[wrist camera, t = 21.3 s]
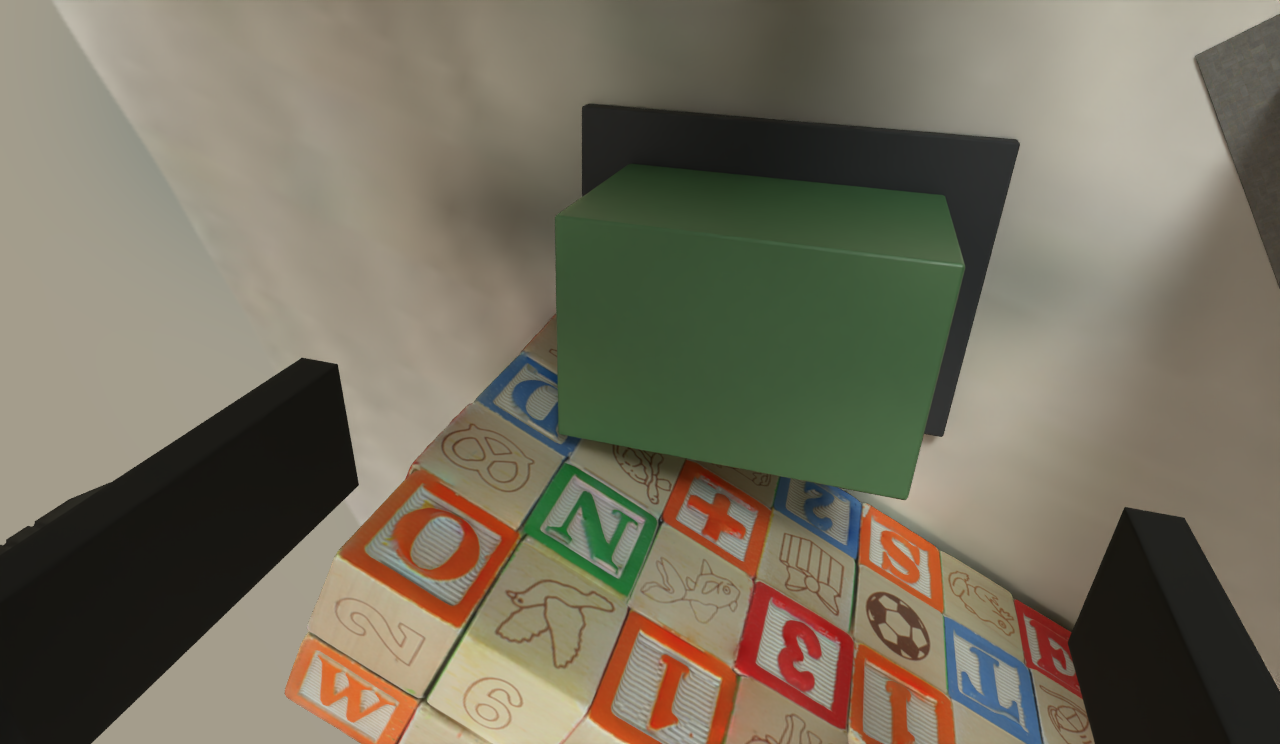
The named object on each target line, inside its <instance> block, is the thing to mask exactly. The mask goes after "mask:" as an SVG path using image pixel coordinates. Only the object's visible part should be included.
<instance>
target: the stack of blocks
mask: <svg viewBox="0 0 1280 744" xmlns="http://www.w3.org/2000/svg"><path fill="white" fill-rule="evenodd" d="M307 630H308V631H309V632H308V633H307V634H306V636H305V638H304V640H303V641H302V643H301V646H300V649H299V652H298V654H297V657H296V660H295V662H294V665H293V668H292V671H291V674H290V676H289V679H288V682H287V685H286V688H285V695H286V697H287V698H288V699H290V700H291V701H293V702H295V703H296V704H298V705H299V706H301V707H303V708H304V709H306V710H308V711H309V712H311V713H313V714H314V715H316V716H318V717H319V718H321V719H322V720H324V721H326V722H327V723H329V724H331V725H332V726H334V727H336V728H337V729H339V730H340V731H342V732H344V733H345V734H347V735H348V736H349V737H351V738H352V739H354V740H356V741H358V742H359V743H361V744H1095V742H1094V739H1093V735H1092V731H1091V728H1090V724H1089V720H1088V716H1087V713H1086V709H1085V705H1084V702H1083V698H1082V694H1081V691H1080V687H1079V683H1078V680H1077V676H1076V672H1075V669H1074V665H1073V661H1072V657H1071V654H1070V650H1069V646H1068V640H1069V638H1070V635H1071V633H1072V632H1070V631H1068V630H1067V629H1065V628H1064V627H1062V626H1060V625H1058V624H1057V623H1055V622H1053V621H1052V620H1050V619H1048V618H1047V617H1045V616H1043V615H1042V614H1040V613H1038V612H1037V611H1035V610H1034V609H1032V608H1030V607H1028V606H1026V605H1025V604H1023V603H1022V602H1020V601H1019V600H1016V599H1013V598H1012V595H1011V593H1010V592H1009V591H1007V590H1005V589H1004V588H1002V587H1001V586H999V585H997V584H996V583H994V582H993V581H991V580H989V579H988V578H986V577H985V576H983V575H982V574H980V573H978V572H977V571H975V570H973V569H972V568H970V567H968V566H967V565H965V564H964V563H962V562H960V561H959V560H957V559H956V558H954V557H952V556H950V555H948V554H947V553H945V552H942V551H939V550H938V549H937V548H936V547H935V546H934V545H932V544H931V543H929V542H928V541H926V540H925V539H923V538H922V537H920V536H919V535H917V534H915V533H914V532H912V531H910V530H909V529H907V528H906V527H904V526H903V525H901V524H900V523H898V522H896V521H895V520H893V519H892V518H890V517H889V516H887V515H885V514H883V513H882V512H880V511H878V510H877V509H875V508H874V507H872V506H871V505H869V504H867V503H860V502H859V501H858V500H857V499H856V498H854V497H853V496H851V495H850V494H848V493H846V492H845V491H843V490H841V489H840V488H838V487H833V486H828V485H823V484H818V483H812V482H807V481H802V480H797V479H791V478H786V477H781V476H776V475H771V474H765V473H760V472H755V471H750V470H744V469H739V468H734V467H729V466H723V465H718V464H713V463H708V462H702V461H697V460H692V459H687V458H682V457H676V456H671V455H666V454H661V453H655V452H650V451H645V450H640V449H634V448H629V447H624V446H619V445H613V444H608V443H603V442H598V441H593V440H587V439H582V438H577V437H572V436H566V435H561V434H559V432H558V377H557V316H556V315H554V316H553V318H552V319H551V320H550V321H549V322H548V323H547V324H546V325H545V326H544V328H543V329H542V330H541V331H540V332H539V333H538V334H537V335H536V336H535V337H534V338H533V339H532V340H531V341H530V342H529V343H528V345H527V346H526V347H525V348H524V349H523V351H522V352H521V354H520V355H519V356H518V357H517V358H516V359H515V360H514V361H513V362H512V363H511V364H510V365H509V366H508V367H507V368H506V369H505V370H504V371H503V372H502V373H501V374H500V375H499V376H498V377H497V378H496V379H495V380H494V381H493V382H492V383H491V384H490V385H489V386H488V387H487V388H486V389H485V390H484V391H483V392H482V393H481V394H480V395H479V396H478V397H477V398H476V400H475V401H474V403H471V404H468V405H467V406H466V407H465V408H464V409H463V410H462V411H461V412H460V414H459V415H457V416H456V417H455V418H454V419H453V420H452V421H451V423H450V424H449V425H448V427H447V428H445V429H444V430H443V431H442V432H441V433H440V434H439V435H438V436H437V437H436V439H435V440H434V441H433V442H432V443H431V444H429V445H428V446H427V448H426V449H425V450H424V451H423V453H422V454H421V455H420V456H419V457H418V458H417V459H416V460H415V461H414V462H413V464H412V465H411V467H410V469H409V471H408V474H407V476H406V479H405V481H403V482H402V484H401V485H400V486H399V487H398V488H397V489H396V490H395V491H394V492H393V493H392V494H391V495H390V496H389V497H388V499H387V500H386V501H385V502H384V503H383V504H382V505H381V506H380V507H379V508H378V509H377V510H376V511H375V512H374V513H373V514H372V515H371V517H370V518H369V519H368V520H367V521H366V522H365V523H364V524H363V525H362V526H361V527H360V528H359V529H358V530H357V532H356V533H355V534H354V535H353V536H352V537H351V538H350V539H349V540H348V541H347V542H346V543H345V544H344V545H343V546H342V548H340V549H339V551H338V552H337V554H336V555H335V557H334V559H333V562H332V564H331V567H330V570H329V573H328V575H327V578H326V580H325V583H324V585H323V588H322V591H321V593H320V596H319V598H318V601H317V604H316V606H315V608H314V611H313V613H312V615H311V618H310V620H309V622H308V625H307Z"/></svg>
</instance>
